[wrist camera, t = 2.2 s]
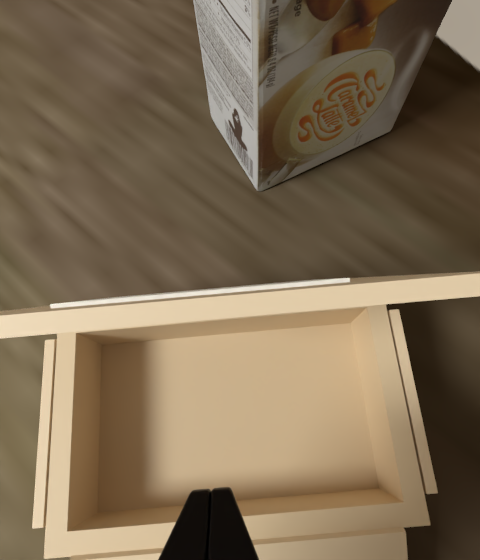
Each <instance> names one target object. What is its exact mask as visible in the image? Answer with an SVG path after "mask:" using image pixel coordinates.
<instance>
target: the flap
mask: <svg viewBox="0 0 480 560" xmlns="http://www.w3.org/2000/svg"><path fill="white" fill-rule="evenodd" d="M475 296H480V272H460V273H440V274H419V275H399V276H379V277H360V278H336V279H316V280H305V281H293V282H282V283H271V284H259V285H248V286H237V287H225V288H214V289H203V290H191V291H180V292H169V293H157V294H146V295H135V296H123V297H112V298H103V299H94V300H84V301H75V302H66V303H57V304H50V306H42V307H34V308H25V309H16V310H8V311H0V338H10V337H21V336H33V335H44V334H55V333H67V332H78V331H89V330H101V329H112V328H123V327H135V326H146V325H157V324H169V323H180V322H192V321H203V320H214V319H226V318H237V317H248V316H260V315H271V314H282V313H294V312H305V311H316V310H328V309H339V308H350V307H362V306H373V305H384V304H396V303H407V302H418V301H430V300H441V299H453V298H464V297H475Z"/></svg>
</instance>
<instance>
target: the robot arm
mask: <svg viewBox="0 0 480 560" xmlns="http://www.w3.org/2000/svg"><path fill="white" fill-rule="evenodd" d="M158 560H259V558H258V555H257V553H256V550H255V548H254V545H253V542H252V540H251V537H250V535H249V532H248V530H247V527H246V525H245V522H244V519H243V517H242V514H241V512H240V509H239V507H238V504H237V502H236V499H235V496H234V494H233V491H232V489H231V488H230V487H219V488H214V489H212V491H211V490H210V489H196V490H193V491H191V492H190V494H189V496H188V498H187V500H186V502H185V504H184V506H183V508H182V511H181V513H180V515H179V517H178V519H177V521H176V523H175V525H174V527H173V529H172V532H171V534H170V536H169V538H168V540H167V542H166V544H165V546H164V548H163V550H162V553H161V555H160V557H159V559H158Z"/></svg>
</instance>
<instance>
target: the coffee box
mask: <svg viewBox="0 0 480 560" xmlns="http://www.w3.org/2000/svg"><path fill="white" fill-rule="evenodd" d="M193 1H194V7H195V14H196V21H197V27H198V34H199V40H200V46H201V52H202V59H203V66H204V72H205V78H206V84H207V91H208V99H209V105H210V112H211V116H212V119H213V121H214V123H215V124H216V126H217V128H218V129H219V131H220V132H221V134H222V135H223V137H224V139H225V140H226V142H227V143H228V145H229V147H230V148H231V150H232V152H233V153H234V155H235V156H236V158H237V160H238V161H239V163H240V164H241V166H242V168H243V169H244V171H245V172H246V174H247V176H248V177H249V179H250V180H251V182H252V183H253V185H254V187H255V188H256V190H257V191H263V190H265V189H268V188H270V187H272V186H274V185H276V184H278V183H281V182H283V181H285V180H287V179H289V178H291V177H294V176H296V175H298V174H300V173H302V172H304V171H306V170H308V169H311V168H313V167H315V166H317V165H319V164H321V163H324V162H326V161H328V160H330V159H332V158H334V157H337V156H339V155H341V154H343V153H345V152H347V151H349V150H351V149H353V148H356V147H358V146H360V145H362V144H364V143H366V142H368V141H371V140H373V139H375V138H377V137H379V136H381V135H383V134H385V133H387V132H390V131H391V129H392V127H393V125H394V123H395V121H396V119H397V116H398V114H399V112H400V110H401V108H402V106H403V104H404V101H405V99H406V97H407V95H408V93H409V91H410V89H411V87H412V85H413V83H414V80H415V78H416V76H417V74H418V71H419V69H420V67H421V64H422V62H423V60H424V59H425V57H426V55H427V52H428V50H429V48H430V46H431V44H432V42H433V39H434V37H435V35H436V33H437V30H438V28H439V27H440V25H441V22H442V20H443V18H444V16H445V14H446V12H447V10H448V8H449V5H450V4H451V2H452V0H193Z"/></svg>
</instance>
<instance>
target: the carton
mask: <svg viewBox="0 0 480 560" xmlns="http://www.w3.org/2000/svg"><path fill="white" fill-rule="evenodd" d="M219 487H230V488H231V489H232V491H233V494H234V496H235V499H236V502H237V504H238V507H239V509H240V512H241V514H242V517H243V519H244V522H245V525H246V527H247V530H248V532H249V535H250V537H251V540H252V542H253V545H254V548H255V550H256V553H257V555H258V558H259V560H408V554H407V540H406V531H405V530H404V528H405V527H417V526H428V525H431V524H430V519H429V514H428V509H427V505H426V500H425V495H424V493H426V494H435V493H438V491H437V486H436V481H435V477H434V472H433V467H432V463H431V458H430V453H429V449H428V444H427V439H426V434H425V430H424V425H423V420H422V416H421V411H420V406H419V401H418V397H417V392H416V387H415V383H414V378H413V373H412V369H411V364H410V359H409V354H408V350H407V345H406V340H405V336H404V331H403V326H402V322H401V317H400V312H399V309H395V310H389V311H387V307H386V304H384V305H373V306H362V307H350V308H339V309H328V310H316V311H305V312H294V313H282V314H271V315H260V316H248V317H237V318H226V319H214V320H203V321H192V322H180V323H169V324H157V325H146V326H135V327H123V328H112V329H101V330H89V331H78V332H67V333H57V340H55V339H54V340H45V350H44V365H43V379H42V394H41V408H40V423H39V437H38V452H37V467H36V481H35V496H34V510H33V525H32V528H43V527H45V526H46V531H45V548H44V559H48V558H59V557H70V559H69V560H158V559H159V557H160V555H161V553H162V550H163V548H164V546H165V544H166V542H167V540H168V538H169V536H170V534H171V532H172V529H173V527H174V525H175V523H176V521H177V519H178V517H179V515H180V513H181V511H182V508H183V506H184V504H185V502H186V500H187V498H188V496H189V494H190V492H191V491H193V490H196V489H210V490H211V491H212V489H214V488H219Z"/></svg>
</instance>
